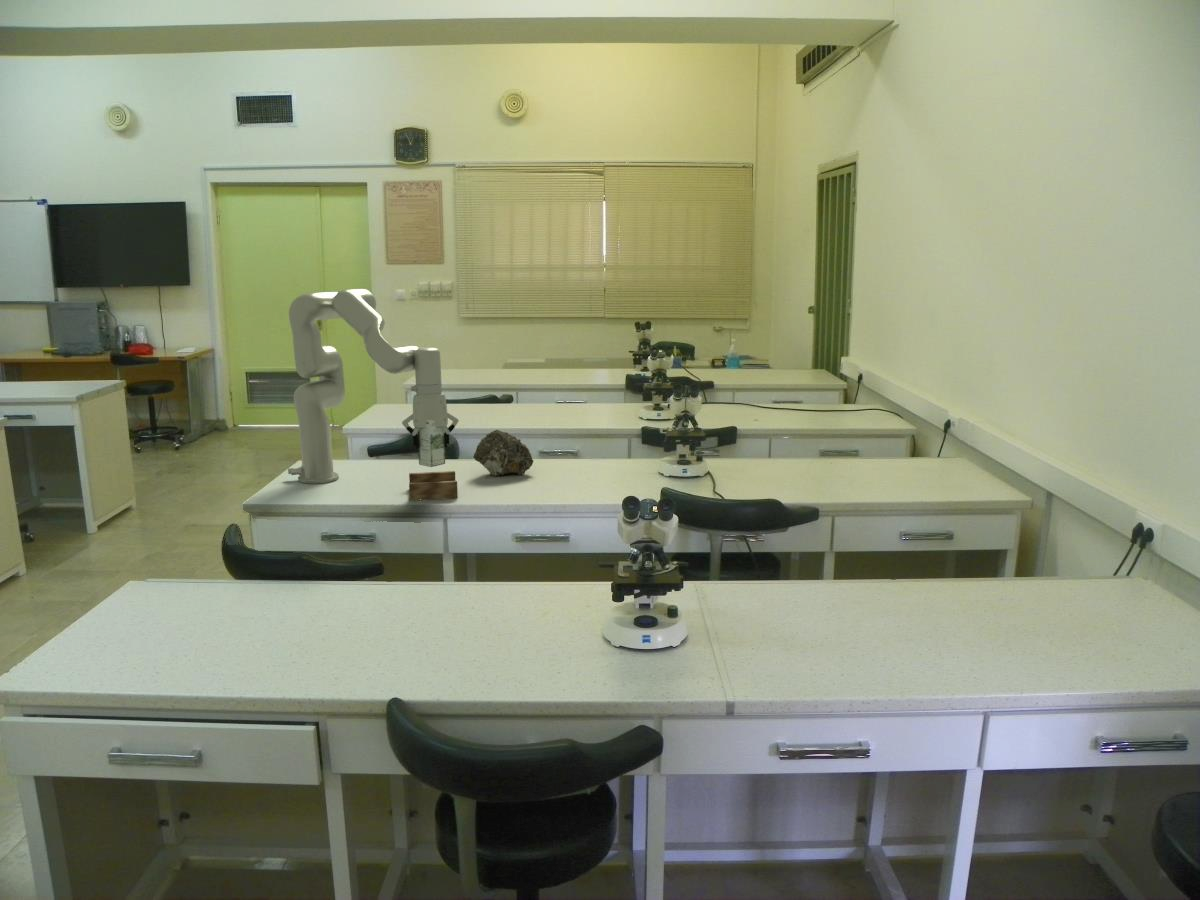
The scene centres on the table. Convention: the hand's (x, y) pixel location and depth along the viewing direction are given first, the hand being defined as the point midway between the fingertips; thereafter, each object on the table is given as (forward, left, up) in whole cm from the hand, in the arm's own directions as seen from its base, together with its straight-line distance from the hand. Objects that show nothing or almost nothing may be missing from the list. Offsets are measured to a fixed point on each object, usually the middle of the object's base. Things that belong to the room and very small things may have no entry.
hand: (431, 446), depth 274 cm
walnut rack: (0, 0, -14) cm, 14 cm away
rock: (+25, +22, -15) cm, 36 cm away
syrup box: (0, 0, -6) cm, 6 cm away
